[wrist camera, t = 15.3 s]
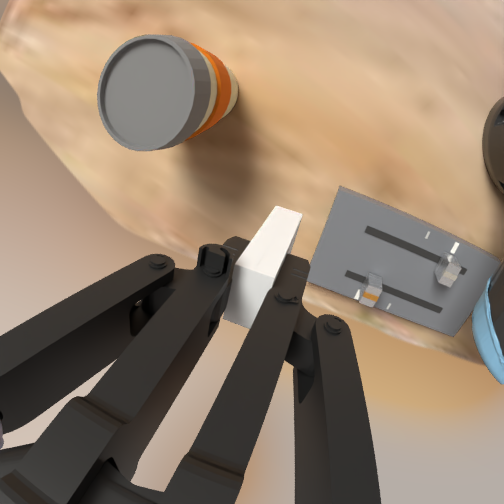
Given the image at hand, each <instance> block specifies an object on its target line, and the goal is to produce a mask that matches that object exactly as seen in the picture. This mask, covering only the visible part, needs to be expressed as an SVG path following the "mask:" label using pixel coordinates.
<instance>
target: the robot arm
mask: <svg viewBox="0 0 504 504" xmlns="http://www.w3.org/2000/svg"><path fill="white" fill-rule="evenodd" d="M483 154H484V160H485V164H486V167H487V170H488V173H489V175H490V177H491V179H492V181H493V182H494V184H495V185H496V187H497V188H498V189H499V190H500V191H501V192H502V193H503V194H504V97H503V98H501V99H500V100H499V101H498V102H497V103H496V104H495V105H494V106H493V108H492V109H491V111H490V113H489V115H488V117H487V120H486V123H485V127H484V132H483ZM302 215H303V214H300V213H297V212H294V211H291V210H288V209H285V208H282V207H279V206H275V208H274V209H273V211H272V212H271V213H270V215H269V216H268V218H267V219H266V221H265V222H264V223H263V225H262V226H261V228H260V229H259V230H258V232H257V233H256V235H255V236H254V238H253V239H252V240H251V241H248V240H245V239H242V238H240V237H237V236H235V237H232V238H230V239H228V240H227V241H226V242H225V243H224V244H223V246H222V245H218V244H206V245H203V246H201V247H200V248H199V254H198V261H197V266H196V267H195V268H194V270H185V269H179V268H175V263H174V261H173V260H172V259H171V258H170V257H168V256H166V255H162V254H151V255H148V256H145V257H143V258H141V259H139V260H137V261H135V262H134V263H132V264H130V265H128V266H126V267H124V268H122V269H120V270H118V271H116V272H114V273H113V274H111V275H109V276H107V277H105V278H103V279H101V280H99V281H98V282H96V283H94V284H92V285H90V286H88V287H86V288H84V289H83V290H81V291H79V292H77V293H75V294H74V295H72V296H70V297H68V298H66V299H64V300H63V301H61V302H59V303H57V304H55V305H54V306H52V307H50V308H48V309H46V310H45V311H43V312H41V313H39V314H38V315H36V316H34V317H32V318H31V319H29V320H27V321H26V322H24V323H22V324H20V325H19V326H17V327H15V328H14V329H12V330H10V331H8V332H7V333H5V334H3V335H2V336H0V449H1V448H2V446H3V444H4V441H3V438H2V436H3V434H6V433H9V432H11V431H14V430H16V429H18V428H20V427H22V426H24V425H25V424H27V423H29V422H30V421H32V420H33V419H35V418H36V417H37V416H39V415H40V414H42V413H43V412H44V411H46V410H47V409H49V408H50V407H51V406H53V405H54V404H55V403H57V402H58V401H60V400H61V399H62V398H64V397H65V396H67V395H68V394H69V393H71V392H72V391H73V390H75V389H76V388H78V387H79V386H80V385H82V384H83V383H84V382H86V381H87V380H89V379H90V378H91V377H93V376H94V375H95V374H97V373H98V372H100V371H101V370H102V369H104V368H105V367H106V366H108V365H109V364H110V363H112V362H113V361H115V360H116V359H117V358H118V359H117V360H116V361H115V362H114V363H113V365H112V366H111V367H110V368H109V370H108V371H107V372H106V373H105V374H104V376H103V377H102V378H101V379H100V380H99V382H98V383H97V384H96V385H95V387H94V388H93V389H92V390H91V392H90V393H89V394H88V395H87V396H85V397H79V396H77V397H74V398H72V399H71V400H70V401H69V402H68V403H67V404H66V405H65V406H64V407H63V409H62V410H61V411H60V412H59V413H58V415H57V416H56V417H55V418H54V420H53V421H52V422H51V423H50V425H49V426H48V427H47V428H46V430H45V431H44V432H43V433H42V435H41V436H40V437H39V438H38V440H37V441H36V442H35V443H31V444H26V445H22V446H17V447H12V448H7V449H2V450H0V504H235V501H236V499H237V496H238V494H239V491H240V489H241V486H242V483H243V480H244V473H245V470H246V468H247V465H248V462H249V460H250V457H251V454H252V452H253V449H254V446H255V444H256V441H257V438H258V436H259V433H260V430H261V427H262V424H263V422H264V419H265V416H266V413H267V410H268V407H269V405H270V402H271V399H272V396H273V393H274V390H275V387H276V384H277V381H278V378H279V375H280V372H281V369H282V365H283V363H284V360H285V361H286V362H288V363H289V364H291V365H293V366H294V368H293V385H294V426H295V427H294V430H295V504H381V498H380V489H379V482H378V475H377V467H376V460H375V454H374V448H373V441H372V435H371V429H370V423H369V418H368V412H367V407H366V402H365V397H364V391H363V386H362V381H361V377H360V372H359V367H358V363H357V358H356V354H355V349H354V345H353V340H352V336H351V332H350V329H349V326H348V325H347V324H346V323H345V322H344V320H342V319H340V318H339V317H337V316H334V315H326V314H324V315H321V316H319V317H318V318H316V317H315V316H313V315H312V314H310V313H309V312H308V311H307V310H306V309H305V308H304V306H303V305H302V296H303V293H304V289H305V286H306V282H307V279H308V275H309V271H310V268H311V267H310V264H309V262H308V260H306V259H303V258H300V257H297V256H294V255H291V254H290V253H291V250H292V247H293V244H294V241H295V237H296V234H297V231H298V228H299V225H300V222H301V218H302ZM140 300H141V301H140ZM138 301H139V302H138ZM137 302H138V303H137ZM223 312H224V316H223V319H225V320H228V321H230V322H233V323H235V324H238V325H241V326H243V327H246V328H249V329H250V330H249V332H248V334H247V336H246V338H245V340H244V343H243V345H242V347H241V349H240V351H239V353H238V355H237V357H236V359H235V361H234V363H233V365H232V367H231V369H230V371H229V373H228V375H227V378H226V379H225V381H224V384H223V386H222V388H221V390H220V392H219V394H218V396H217V398H216V400H215V402H214V404H213V406H212V408H211V410H210V412H209V414H208V415H207V418H206V419H205V421H204V423H203V425H202V427H201V429H200V431H199V433H198V435H197V437H196V439H195V441H194V443H193V445H192V447H191V449H190V450H189V452H188V453H187V454H186V455H185V456H184V457H183V459H182V460H181V462H180V464H179V465H178V467H177V469H176V471H175V473H174V475H173V477H172V478H171V480H170V482H169V484H168V486H167V488H166V490H165V491H164V492H160V491H156V490H152V489H148V488H144V487H140V486H137V485H134V484H132V483H131V482H130V481H131V479H132V478H133V476H134V474H135V471H136V469H137V465H138V461H139V459H140V457H141V455H142V453H143V452H144V450H145V449H146V447H147V445H148V444H149V442H150V440H151V439H152V437H153V435H154V434H155V432H156V430H157V429H158V427H159V425H160V423H161V422H162V420H163V419H164V417H165V415H166V414H167V412H168V410H169V409H170V407H171V405H172V403H173V402H174V400H175V399H176V397H177V395H178V394H179V392H180V390H181V389H182V387H183V385H184V383H185V382H186V380H187V379H188V377H189V375H190V374H191V372H192V370H193V369H194V367H195V365H196V363H197V362H198V360H199V358H200V357H201V355H202V353H203V352H204V350H205V348H206V347H207V345H208V343H209V341H210V340H211V338H212V337H213V335H214V333H215V332H216V330H217V328H218V326H219V322H220V317H221V316H222V314H223ZM472 332H473V337H474V341H475V344H476V346H477V349H478V352H479V354H480V356H481V358H482V360H483V361H484V363H485V365H486V367H487V368H488V370H489V371H490V372H491V374H492V375H493V376H494V378H495V379H496V380H497V381H498V382H499V383H500V384H504V257H503V259H502V261H501V263H500V264H499V266H498V268H497V269H496V271H495V272H494V274H492V276H491V277H490V278H489V279H488V281H487V284H486V288H485V290H484V291H483V293H482V295H481V296H480V298H479V300H478V301H477V303H476V305H475V307H474V310H473V313H472Z"/></svg>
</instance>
